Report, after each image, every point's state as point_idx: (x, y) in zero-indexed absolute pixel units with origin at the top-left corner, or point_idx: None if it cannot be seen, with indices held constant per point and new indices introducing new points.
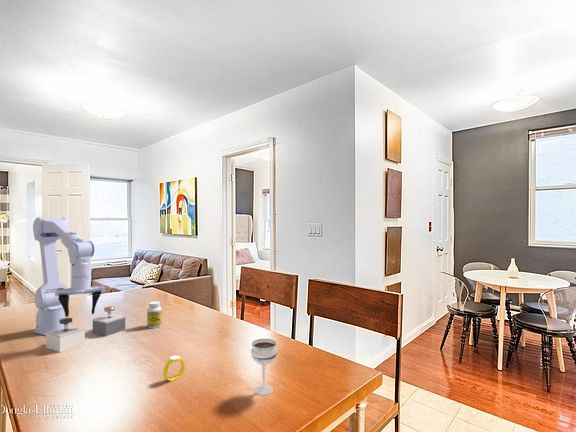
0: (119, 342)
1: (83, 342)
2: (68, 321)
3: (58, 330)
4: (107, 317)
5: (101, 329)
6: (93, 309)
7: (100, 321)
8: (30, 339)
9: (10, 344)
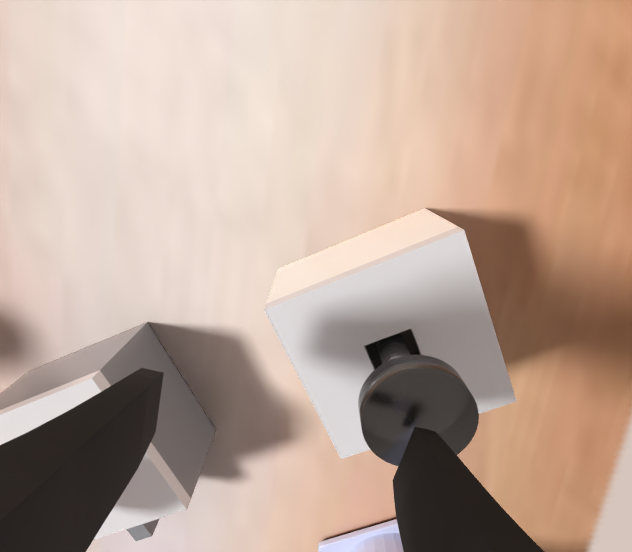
0: (70, 136)
1: (284, 267)
2: (403, 366)
3: None
4: None
5: None
6: (110, 396)
7: None
8: None
9: (582, 495)
